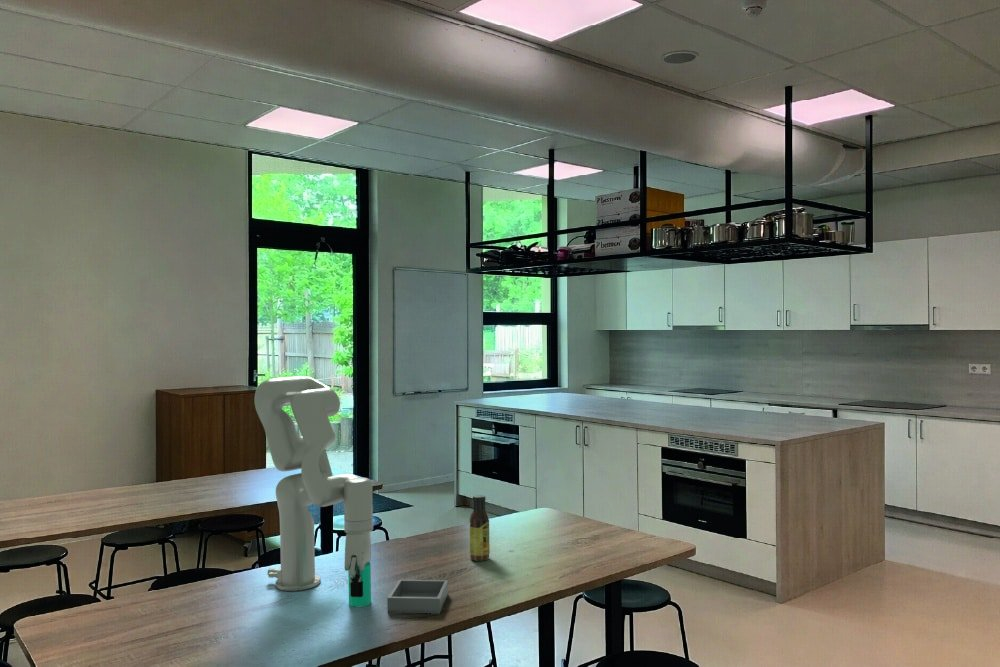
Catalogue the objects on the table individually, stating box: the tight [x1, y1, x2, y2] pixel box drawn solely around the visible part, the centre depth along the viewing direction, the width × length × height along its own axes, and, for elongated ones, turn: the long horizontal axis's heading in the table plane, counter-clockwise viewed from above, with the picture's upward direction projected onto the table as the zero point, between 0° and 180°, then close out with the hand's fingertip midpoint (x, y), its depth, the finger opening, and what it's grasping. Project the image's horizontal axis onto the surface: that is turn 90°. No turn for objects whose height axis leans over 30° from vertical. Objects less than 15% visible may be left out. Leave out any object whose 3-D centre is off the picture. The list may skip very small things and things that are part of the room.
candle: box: [347, 561, 372, 608], centre depth 196 cm, size 6×6×12 cm
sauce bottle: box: [469, 494, 491, 562], centre depth 232 cm, size 7×6×20 cm
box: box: [386, 579, 449, 615], centre depth 195 cm, size 14×14×4 cm
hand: (359, 591), depth 196 cm, fingers closed on candle, 4 cm apart
